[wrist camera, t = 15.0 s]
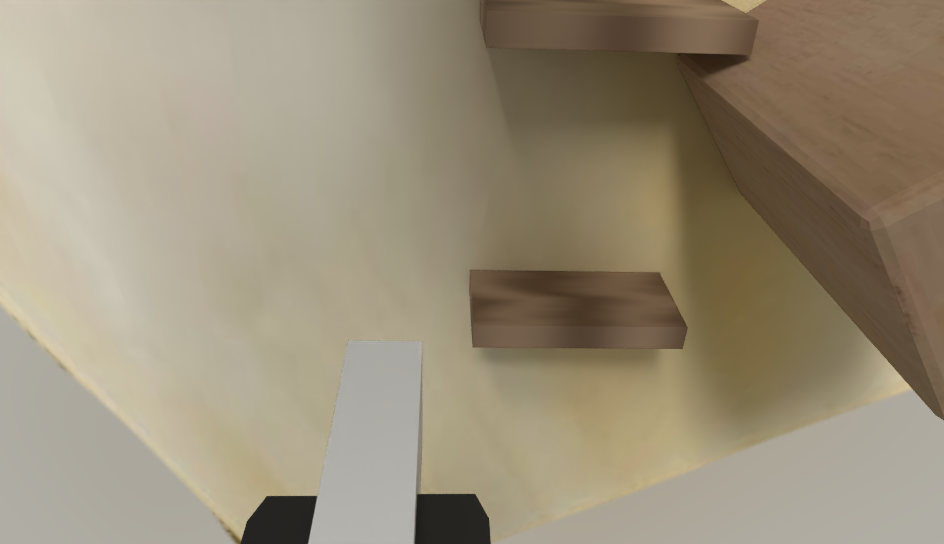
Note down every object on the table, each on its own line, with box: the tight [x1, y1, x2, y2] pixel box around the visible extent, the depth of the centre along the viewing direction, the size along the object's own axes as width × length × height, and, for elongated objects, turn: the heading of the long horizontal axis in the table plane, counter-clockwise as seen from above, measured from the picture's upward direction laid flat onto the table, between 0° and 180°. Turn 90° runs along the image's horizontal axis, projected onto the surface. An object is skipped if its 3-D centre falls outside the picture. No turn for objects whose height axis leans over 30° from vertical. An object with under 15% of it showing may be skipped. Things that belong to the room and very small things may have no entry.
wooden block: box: [678, 0, 944, 420], centre depth 30 cm, size 10×10×20 cm
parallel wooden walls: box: [469, 0, 759, 349], centre depth 38 cm, size 12×18×6 cm, turn 178°
